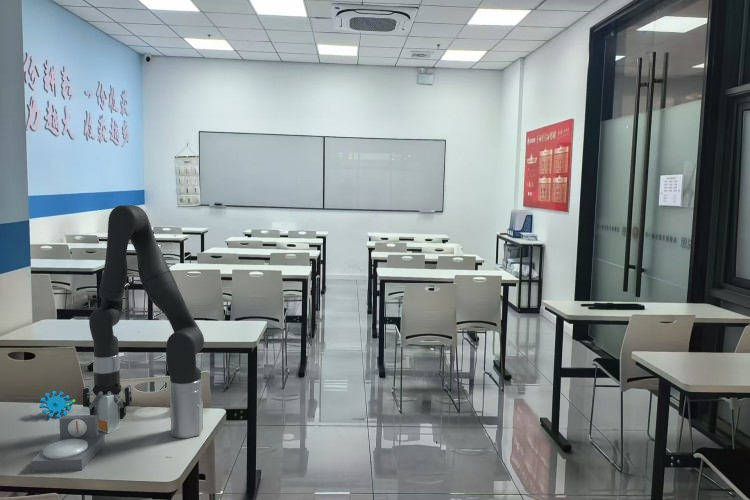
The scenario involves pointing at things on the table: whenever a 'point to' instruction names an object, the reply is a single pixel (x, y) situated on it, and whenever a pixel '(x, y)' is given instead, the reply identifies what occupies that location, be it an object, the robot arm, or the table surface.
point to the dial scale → (71, 445)
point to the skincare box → (108, 413)
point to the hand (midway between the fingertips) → (108, 418)
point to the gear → (56, 404)
